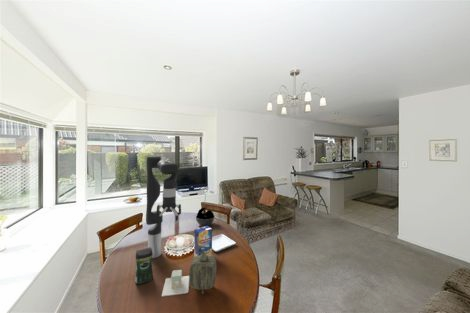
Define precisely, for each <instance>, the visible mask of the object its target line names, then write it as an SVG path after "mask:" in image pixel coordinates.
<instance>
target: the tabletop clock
mask: <svg viewBox="0 0 470 313" xmlns="http://www.w3.org/2000/svg"><path fill="white" fill-rule="evenodd" d="M200 248H207V249H208V250H209V251H210V249H209V248H208V247H199V248H198V250H199V249H200ZM198 250H197V252H198ZM198 253H200V252H198ZM207 253H209V252H207ZM207 253H204V251H203V253H200V254H201V255H199V256H195V257H194V256H193V258H192V261H191V264H190V267H189V272H188V276H189V286H190V287H191V288H192V289H193V290H201V291H200V294H201V295H204V294H205V291H204V290H209V289H212V288H214V287H215V283H216V277H217V268H218V267H217V259H216V256H214V255H212V256H210V255H206V254H207Z"/></svg>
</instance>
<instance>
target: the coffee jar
mask: <svg viewBox="0 0 470 313" xmlns="http://www.w3.org/2000/svg"><path fill="white" fill-rule="evenodd" d="M152 256H153V252H152V248H151V247H149V248H148V247H145V248H141V249H138V250H136V252H135V257H134V259H135V262H136V263H135V264H136V267H135V279H134V280H135V283H136V284H137V285H141V284H144V283H148V282H150V281H152V279H153V278H154V273H153V265H152V264H153V263H152V259H153V258H152Z"/></svg>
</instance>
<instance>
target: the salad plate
mask: <svg viewBox="0 0 470 313" xmlns="http://www.w3.org/2000/svg"><path fill="white" fill-rule="evenodd" d="M234 245H236V241H234V240H233V239H231V238H229V237H228V236H226V235H225V234H223V233H221V234H218V235H215V236H212V251H214V253H215V252H216V253H217V252H220V251H222V250H225V249H227V248H230V247H233V246H234Z"/></svg>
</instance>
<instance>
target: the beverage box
mask: <svg viewBox="0 0 470 313" xmlns="http://www.w3.org/2000/svg"><path fill="white" fill-rule="evenodd" d="M212 237H213V228H212V227H210V225H208V226H201V227H198V228H195V229H194V242H193V243H194V244H193V245H194V250H193V251H194V253H193V254H194V256H193V258H194V257H195V256H199V255H201V254H200V253H203V251H204V253H207V252H209V253H207V254H206V255H210V256H213V254H212V253H213V249H212ZM199 247H208V248H209V249H210V251H209V250H208V249H207V248H200V249H199V250H198V248H199ZM197 250H198V252H200V253H198V252H197Z"/></svg>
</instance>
